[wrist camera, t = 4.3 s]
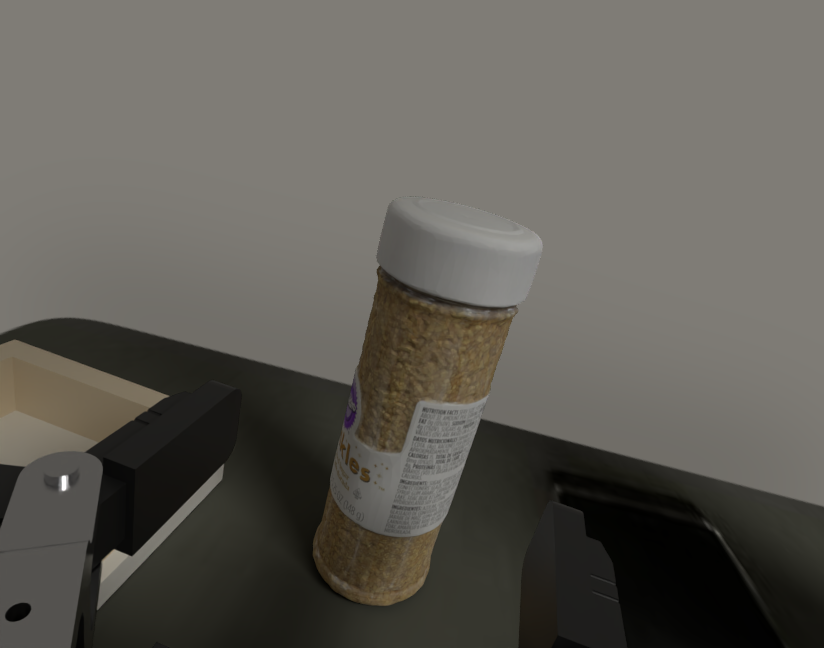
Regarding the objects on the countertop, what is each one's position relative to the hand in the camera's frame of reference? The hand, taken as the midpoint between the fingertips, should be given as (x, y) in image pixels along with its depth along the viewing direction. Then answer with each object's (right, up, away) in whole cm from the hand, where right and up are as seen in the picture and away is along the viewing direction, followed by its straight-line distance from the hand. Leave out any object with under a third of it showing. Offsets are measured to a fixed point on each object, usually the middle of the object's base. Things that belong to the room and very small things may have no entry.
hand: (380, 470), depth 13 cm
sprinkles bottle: (-1, -6, +7) cm, 9 cm away
